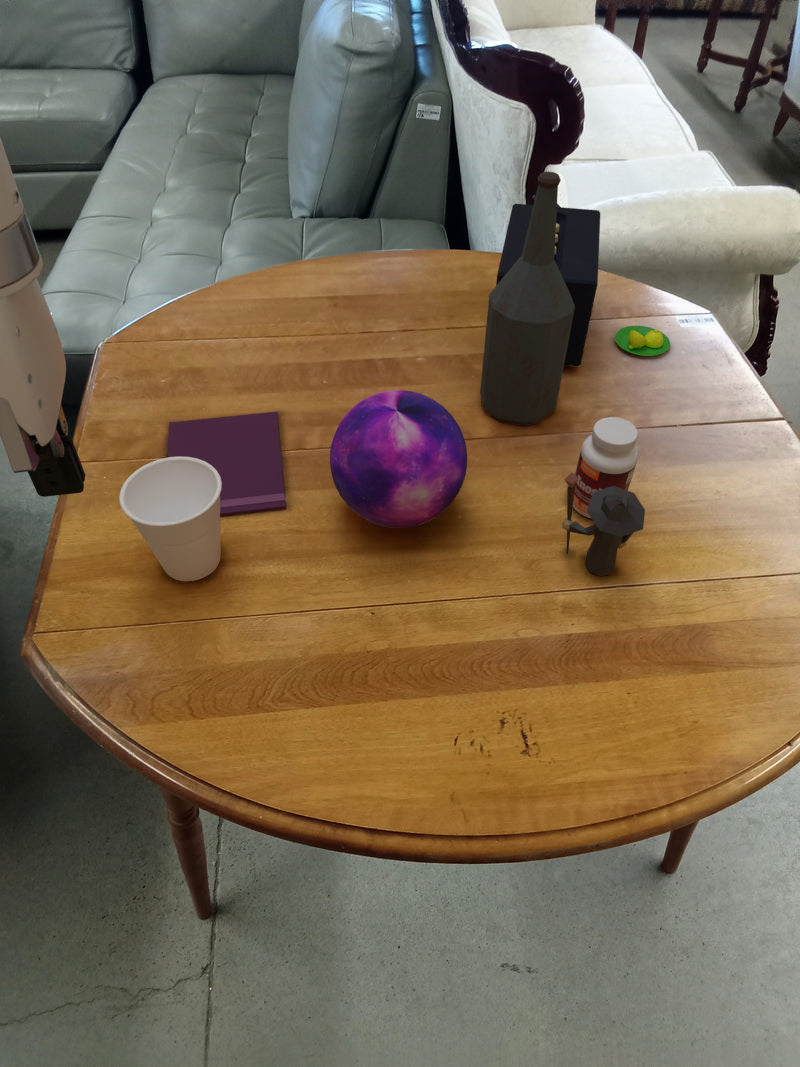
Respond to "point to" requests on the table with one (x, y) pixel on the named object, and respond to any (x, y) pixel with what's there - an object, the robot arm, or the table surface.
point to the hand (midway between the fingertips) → (63, 487)
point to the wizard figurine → (605, 524)
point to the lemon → (642, 340)
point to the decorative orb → (398, 459)
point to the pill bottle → (605, 460)
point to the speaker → (564, 263)
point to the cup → (177, 514)
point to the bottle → (528, 323)
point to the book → (236, 458)
